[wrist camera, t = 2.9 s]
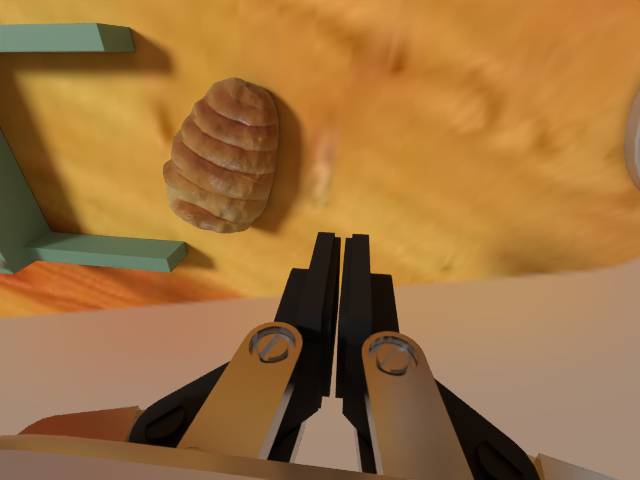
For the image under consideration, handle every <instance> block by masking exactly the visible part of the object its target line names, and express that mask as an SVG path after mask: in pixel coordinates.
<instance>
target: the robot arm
mask: <svg viewBox="0 0 640 480" xmlns="http://www.w3.org/2000/svg"><path fill="white" fill-rule="evenodd" d="M624 153H625V160H626V167H627V169H628V171H629V174H630V176H631V178H632V180H633V182H634V184H635V185H636V186H637V187H638V188H639V189H640V90H639V92H638V94H637V96H636V98H635V100H634V102H633V105H632V108H631V112H630V115H629V118H628V121H627V124H626V130H625V140H624ZM340 247H341V237H335V233H327V232H318V236H317V239H316V243H315V247H314V251H313V255H312V259H311V263H310V267H309V269H298V268H293V269H292V270H291V272H290V275H289V278H288V281H287V284H286V287H285V290H284V293H283V296H282V299H281V302H280V305H279V308H278V311H277V314H276V317H275V320H274V322H270V323H265V324H262V325H260V326H257V327H256V328H254V329H253V330H252V331H250V332H249V334H248V335H247V336H246V337H245V339H244V340H243V342H242V343H241V345H240V347H239V348H238V350H237V351H236V353H235V354H234V356H233V358H232V359H231V361H229V362H228V363H226V364H224V365H222V366H220V367H218V368H217V369H215V370H213V371H211V372H209V373H207V374H206V375H204V376H202V377H200V378H199V379H197V380H195V381H193V382H191V383H190V384H187V385H186V386H184V387H182V388H180V389H179V390H177V391H175V392H173V393H171V394H169V395H168V396H166V397H164V398H162V399H160V400H158V401H157V402H156V403H154V404H153V405H151V406H150V407H148V408H147V409H146V410H140V408H139V406H133V407H124V408H116V409H107V410H98V411H89V412H81V413H72V414H63V415H55V416H51V417H47V418H43V419H41V420H39V421H37V422H35V423H33V424H31V425H29V426H28V427H26V428H25V429H24V430H22V431H21V432H20V433H19V434H17V435H3V436H0V480H618V479H615V478H612V477H609V476H606V475H603V474H600V473H597V472H594V471H591V470H588V469H585V468H582V467H579V466H576V465H573V464H570V463H567V462H564V461H561V460H558V459H555V458H552V457H549V456H546V455H543V454H540V453H539V454H538V456H537V457H533V456H530V455H527V454H526V453H525V452H524V451H523V450H522V449H521V448H520V447H519V446H518V445H517V444H516V443H515V442H514V441H512V440H511V439H510V438H509V437H508V436H506V435H505V434H504V433H502V432H501V431H500V430H499V429H497V428H496V427H495V426H494V425H492V424H491V423H490V422H489V421H487V420H486V419H485V418H484V417H482V416H481V415H479V413H477V412H476V411H475V410H473V409H472V408H471V407H470V406H469V405H467V404H466V403H465V402H463V401H462V400H461V399H459V398H458V397H457V396H456V395H455V394H453V393H452V392H451V391H450V390H448V389H447V388H446V387H445V386H443V385H442V384H441V383H439V382H438V381H437V380H436V379H435V378H434V377H433V375H432V372H431V370H430V367H429V365H428V362H427V360H426V357H425V355H424V353H423V351H422V349H421V348H420V346H419V345H418V344H417V343H416V342H415V341H413V340H412V339H411V338H409V337H407V336H405V335H403V334H400V333H399V326H398V319H397V311H396V305H395V297H394V290H393V282H392V276H391V275H387V274H372V273H370V251H369V235H363V234H353V235H352V238H346V242H345V252H344V263H343V274H342V285H341V296H340V307H339V321H338V345H337V371H336V396H335V397H336V398H343V412H342V413H343V414H344V416H345V417H346V418H347V419H348V420H349V421H350V422H351V424H352V425H353V426H354V427H355V432H354V435H355V442H356V451H357V459H358V467H359V472H355V471H347V470H339V469H331V468H324V467H317V466H309V465H301V464H294V462H295V458H296V455H297V452H298V449H299V445H300V442H301V439H302V435H303V432H304V429H305V423H306V419H308V418H309V417H310V416H312V415H313V414H314V413H315V412H317V411H318V408H321V403H322V396H325V397H329V395H330V386H331V375H332V365H333V355H334V345H335V335H336V324H337V314H338V299H339V274H340Z"/></svg>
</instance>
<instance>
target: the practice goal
mask: <svg viewBox="0 0 640 480" xmlns="http://www.w3.org/2000/svg"><path fill="white" fill-rule="evenodd" d="M29 52H135V48H134V44H133V40H132V36H131V32H130V28H129V27H122V26H115V25H107V24H99V23H75V24H19V25H0V53H29ZM186 255H187V251H186V247H185V244H184V242H178V241H165V240H152V239H138V238H125V237H112V236H99V235H85V234H72V233H59V232H51V230H50V228H49V226H48V224H47V222H46V220H45V218H44V216H43V214H42V212H41V210H40V208H39V206H38V204H37V202H36V200H35V198H34V196H33V194H32V192H31V190H30V188H29V186H28V184H27V182H26V180H25V178H24V176H23V173H22V171H21V169H20V167H19V165H18V163H17V161H16V159H15V157H14V155H13V153H12V151H11V149H10V147H9V145H8V143H7V141H6V139H5V137H4V135H3V133H2V131H1V129H0V273H6V274H15V273H17V272H18V271H20V270H22V269H23V268H25V267H26V266H28V265H30V264H31V263H33V262H35V261H47V262H58V263H69V264H80V265H92V266H103V267H114V268H125V269H137V270H148V271H159V272H171V271H172V270H173V269H174V268H175V267H176V266H177V265H178V264H179V263H180V262H181V261H182V260H183V259H184V258H185V257H186Z"/></svg>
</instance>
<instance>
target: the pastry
mask: <svg viewBox="0 0 640 480" xmlns="http://www.w3.org/2000/svg"><path fill="white" fill-rule="evenodd" d="M278 142H279V121H278V116H277V110H276V106H275V103H274V101H273V99H272V98H271V96H270V94H269V93H268V92H266V91H265V90H263V89H262V88H261V87H259V86H257V85H255V84H253V83H250V82H246V81H244V80H242V79H239V78H229V79H226V80H223V81H220V82H216V83H214V84H213V85H212V87H211V88H210V90H209V91H208V92H207V93H206V95H205V96H204V97H203V98H202V99H201V100H199V101H198V102H196V103H195V105H194V108H193V109H192V112H191V114H190V115H189V116H188V117H187V118H186V119H185V120H184V122H183V124H182V126H181V129H180V130H179V131H178V132H177V133H176V135H175V136H174V139H173V145H172V150H171V157H172V158H171V160H169V161H168V162H166V163H165V164H164V168H163V175H164V179H165V182H166V183H167V194H168V198H169V201H170V202H169V205H170V208H171V209H172V211H173V212H174V213H175V214H176V215H177V216H179V217H180V218H182V219H183V220H185V221H187V222H188V223H190V224H192V225H194V226H196V227H198V228H200V229H204V230H212V231H214V232H217V233H233V232H240V231H244V230H246V229H248V228H249V227H250V225H251V224H252V222H253V221H254V220H255V219H256V218H258V217H259V216H260V215H261V214H262V213H263V212H264V210H265V208H266V206H267V201H268V197H269V194H270V190H271V188H272V185H273V182H274V177H275V167H276V158H277V148H278Z"/></svg>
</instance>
